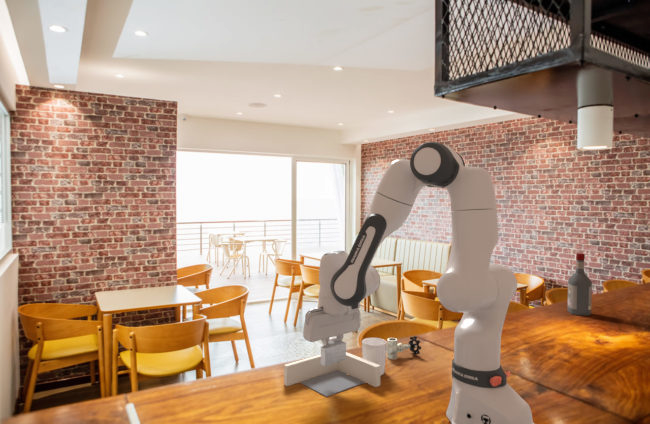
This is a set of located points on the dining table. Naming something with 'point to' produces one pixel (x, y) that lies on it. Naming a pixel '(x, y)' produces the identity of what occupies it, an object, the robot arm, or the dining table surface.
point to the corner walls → (332, 369)
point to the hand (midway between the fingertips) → (332, 350)
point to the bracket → (333, 352)
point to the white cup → (375, 351)
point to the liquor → (579, 290)
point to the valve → (401, 347)
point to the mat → (332, 383)
